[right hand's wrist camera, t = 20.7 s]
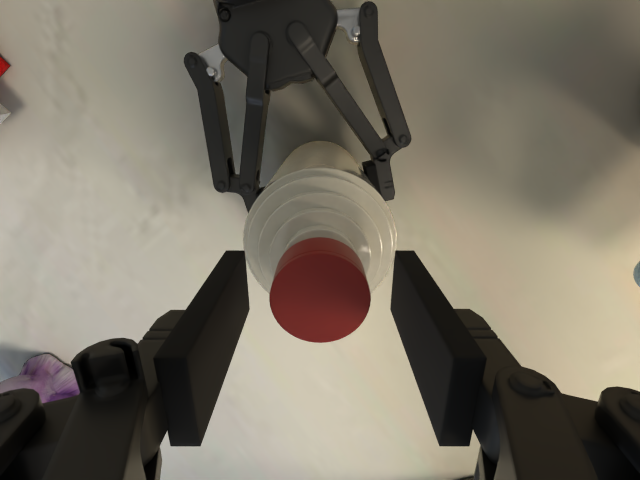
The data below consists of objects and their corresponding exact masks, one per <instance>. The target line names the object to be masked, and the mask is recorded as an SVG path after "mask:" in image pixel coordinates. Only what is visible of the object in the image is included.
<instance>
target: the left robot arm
mask: <svg viewBox="0 0 640 480" xmlns="http://www.w3.org/2000/svg"><path fill="white" fill-rule="evenodd" d="M213 2H214V5H215V9H216V12H217V16H218V19H219V24H220V32H219V39H218V43H219V44H217V45H215V46H213V47H211V48H209V49H207V50H205V51H203V52H201V53H199V54H196V53H193V52H190V53H187V54H186V55H185V57H184V64H185V67H186V68H187V70H188V72H189V74H190V76H191V78H192V80H193V82H194V84H195V86H196V88H197V90H198V96H199V102H200V108H201V114H202V119H203V125H204V131H205V137H206V143H207V149H208V155H209V160H210V166H211V172H212V178H213V184H214V188H215V189H216V190H217V191H218V192H221V193H224V192H234V193H238V194H240V195H241V196H242V197H243V199H244V202H245V205H246V208H247V211H248V213H249V211H250V209H251V207H252V205H253V203H254V202H255V201H256V199H257V198H258V196H259V195H260V194H261V192H262V191H263V190H264V188H265V187H266V186H265V187H261V188H259V184H260V181H259V178H260V170H261V161H262V153H263V144H264V136H265V127H266V119H267V110H268V105H269V100H270V92H271V91H277V90H281V89H284V88H285V87H287V86H288V85H290V84H292V83H302V84H303V83H307V82H310V81H312V80H313V79H314V78H315V79H316V80H317V82H318V83H319V84H320V86H321V87H322V89H323V90H324V91H325V92H326V94H327V95H328V97H329V98H330V99H331V101H332V102H333V104H334V105H335V106H336V108H337V109H338V111H339V112H340V114H341V115H342V116H343V118H344V119H345V121H346V122H347V123H348V125H349V126H350V128H351V129H352V130H353V132H354V133H355V135H356V136H357V137H358V139H359V140H360V142H361V143H362V144H363V146H364V147H365V149H366V150H367V151H368V153H369V154H370V157H371V160H370V161H366V162H362V165H363V170H364V173H365V175H366V176H367V177H368V179H369V180H370V181H371V183H372V184H373V186H374V187H375V188H376V190H377V191H378V192H379V194H380V195H381V196H382V198H383V199H384V201H388V200H392V199H394V195H395V190H394V184H393V179H392V173H391V167H390V158H391V156H392V155H393V154H394V153H395V152H397V151H398V150H400V149H401V148H403V147H406V146H408V145H409V144H410V142H411V135H410V132H409V129H408V126H407V123H406V120H405V117H404V114H403V111H402V109H401V106H400V103H399V100H398V97H397V94H396V91H395V88H394V85H393V82H392V79H391V76H390V74H389V71H388V68H387V65H386V62H385V59H384V56H383V53H382V50H381V47H380V44H379V41H378V11H377V7H376V5H375V4H374V3H373V2H369V1H368V2H365V3H364V4H362V6H361V8H352V9H340V10H336V8H335V6H334V5H333V4H332V2H331V1H330V0H213ZM336 29H340V30H342V31H343V32H344V33H345V34H346V38H347V40H348V42H349V43H350V44H352V45H357V49H358V54H359V58H360V61H361V63H362V66H363V69H364V72H365V74H366V77H367V80H368V83H369V85H370V88H371V91H372V94H373V96H374V99H375V102H376V105H377V107H378V110H379V113H380V116H381V118H382V121H383V124H384V127H385V129H386V132H387V136H386V137H384V138H383V139H380V137H379V136H378V134H377V133H376V131H375V130H374V128H373V127H372V125H371V124H370V123H369V121H368V120H367V118H366V117H365V115H364V114H363V112H362V111H361V110H360V108H359V107H358V105H357V104H356V102H355V101H354V99H353V98H352V96H351V95H350V94H349V92H348V91H347V89H346V88H345V86H344V85H343V83H342V82H341V81H340V79H339V77H338V76H337V74H336V72H335V71H334V69H333V68H332V66H331V65H330V63H329V62H328V60H327V59H326V56H327V53H328V50H329V48H330V45H331V42H332V39H333V37H334V34H335V31H336ZM227 60H229V61H230V62H231V63H232V64H234V65H235V66H236V67H237V68H238V69H239V70H240V71H242V72H243V73H244V74H245V75H246V76H247V77H248V78H247V89H246V114H245V124H244V135H243V145H242V155H241V165H240V175H238V174H235V168H234V161H233V154H232V148H231V141H230V134H229V127H228V120H227V114H226V107H225V100H224V94H223V90H222V87H221V84H220V82H221V81H222V80H223V79H224V77H225V73H224V63H225V62H226V61H227ZM633 275H634V280H635V282H636V283H637V285H638V286H639V287H640V262H638V264H637V265H636V266H635V268H634V274H633Z"/></svg>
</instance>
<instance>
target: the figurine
mask: <svg viewBox="0 0 640 480" xmlns="http://www.w3.org/2000/svg"><path fill="white" fill-rule="evenodd" d="M21 388H27V389H34V390H35V391H36V392H38V393H39V395H40V398H41V401H42V403H46V402H50V401H55V400H59V399H64V398H68V397H73V396H76V395H79V393H80V391H79V388H78V385H77V381H76V378H75V375H74V371H73V369H72V368H70V367H69V366H67V365H65V364H63V363H61V362H60V361H59V360H58V359H56V358H55V357H53V356H52V355H50V354H43V355H41V356H40V355H39V356H37V357H36V356H35V357H33V358H30V359H29V360H27V362H26V363H24V366H23V368H22V371H21V373H20V375H19V376H16V377H12V378H9V379H7V380H4V381H2V382H1V383H0V393H3V392H6V391H9V390H15V389H21Z"/></svg>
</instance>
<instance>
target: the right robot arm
mask: <svg viewBox="0 0 640 480" xmlns="http://www.w3.org/2000/svg"><path fill="white" fill-rule="evenodd" d="M248 312H249V296H248V284H247V271H246V259H245V251H226V252H225V253H224V255H223V256H222V257H221V259H220V260H219V262H218V263H217V265H216V266H215V268H214V269H213V271H212V272H211V274H210V275H209V277H208V278H207V279H206V281H205V282H204V284H203V285H202V287H201V288H200V290H199V291H198V293H197V294H196V296H195V297H194V299H193V300H192V301H191V303H190V304H189V306H188V307H187V309H186V310H170V311H169V312H167V313H166V314H164V315H163V316H161V317H160V318H158V319H157V320H156V321H155V323H154V324H153V325H152V326H151V328H150V329H149V331H148V332H147V333H146V334H145V335H144V337H143V340H140V342H139V343H138V344H137V343H136V342H135V341H133V340H131V339H126V338H114V339H109V340H105V341H101V342H98V343H96V344H94V345H91V346H89V347H87V348H86V349H84V350H83V351H81V352H80V353H78V354H77V355H76V356H75V358H74V359H73V360H72V361H71V365H72V368H73V371H74V375H75V378H76V381H77V385H78V388H79V391H80V393H79V395H76V396H73V397H68V398H64V399H59V400H55V401H50V402H46V403H42V401H41V398H40V395H39V393H38V392H36V391H35V390H34V389H27V388H21V389H15V390H9V391H6V392H3V393H0V480H160V474H161V465H162V457H161V450H160V444H161V442H162V440H163V438H164V436H165V434H166V432H167V431H168V435H169V440H170V445H171V446H201V443H202V440H203V438H204V435H205V432H206V429H207V426H208V424H209V421H210V418H211V415H212V413H213V410H214V407H215V404H216V401H217V399H218V396H219V393H220V390H221V387H222V385H223V382H224V379H225V376H226V373H227V371H228V368H229V365H230V362H231V360H232V357H233V354H234V351H235V348H236V346H237V343H238V340H239V337H240V334H241V332H242V329H243V326H244V323H245V321H246V318H247V315H248ZM391 312H392V315H393V318H394V321H395V323H396V326H397V329H398V332H399V334H400V337H401V340H402V343H403V346H404V348H405V351H406V354H407V357H408V360H409V362H410V365H411V368H412V371H413V373H414V376H415V379H416V382H417V385H418V387H419V390H420V393H421V396H422V399H423V401H424V404H425V407H426V410H427V413H428V415H429V418H430V421H431V424H432V426H433V429H434V432H435V435H436V438H437V440H438V443H439V446H469V445H470V440H471V435H472V430H474V432H475V434H476V436H477V438H478V440H479V442H480V444H481V446H480V450H479V455H478V460H477V464H476V469H475V474H474V477H473V478H467V479H463V480H640V392H639V391H636V390H633V389H629V388H623V387H608V388H606V389H605V390H603V391H602V392H601V395H600V398H599V401H598V402H597V401H592V400H588V399H583V398H579V397H574V396H570V395H566V394H562V393H561V392H560V391H559V389H558V388H557V387H556V385H555V384H554V383H553V382H552V381H551V380H549V379H548V378H547V377H546V376H544V375H542V374H540V373H538V372H536V371H534V370H531V369H528V368H525V367H521V365H520V364H519V363H518V362H517V360H516V359H515V358H514V357H513V355H512V354H511V353H510V351H509V350H508V349H507V348H506V346H505V345H504V344H503V343H502V341H501V340H500V339H498V336H497V335H496V334H495V333H494V331H493V330H491V328H490V326H489V325H488V324H487V323H486V321H485V320H484V319H483V318H482V317H481V316H479V315H478V314H476V313H475V312H473V311H472V310H470V309H453V307H452V306H451V304H450V303H449V301H448V300H447V299H446V297H445V296H444V294H443V293H442V291H441V290H440V288H439V287H438V285H437V284H436V282H435V281H434V279H433V278H432V277H431V275H430V274H429V272H428V271H427V269H426V268H425V266H424V265H423V263H422V262H421V260H420V259H419V257H418V256H417V255H416V253H415V252H414V251H395V259H394V271H393V284H392V296H391Z"/></svg>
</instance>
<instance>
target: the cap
mask: <svg viewBox="0 0 640 480" xmlns="http://www.w3.org/2000/svg"><path fill="white" fill-rule="evenodd" d="M370 301H371V296H370V289H369V285H368V281H367V278H366V274H365V271H364V267H363V264H362V262H361V260H360V258H359V257H358V255H357V254H356V253H355V252H354V251H353V250H352V249H351V248H350V247H349V246H347V245H346V244H344V243H342V242H340V241H338V240H335V239H331V238H326V237H315V238H309V239H305V240H302V241H300V242H298V243H296V244H294V245H293V246H291V247H290V248H289V249H288V250H287V251H286V252H285V253H284V254H283V255H282V257H281V258H280V260H279V262H278V265H277V268H276V271H275V275H274V278H273V282H272V285H271V289H270V307H271V310H272V313H273V315H274V317H275V319H276V320H277V322H278V323H279V324H280V326H281V327H282V328H283V329H284V330H285V331H287V332H288V333H290V334H291V335H293V336H295V337H297V338H299V339H302V340H305V341H309V342H318V343H322V342H331V341H335V340H339V339H341V338H343V337H345V336H347V335H349V334H351V333H352V332H353V331H355V330H356V329H357V328H358V327H359V326H360V325H361V323H362V322H363V321H364V319H365V317H366V315H367V313H368V311H369V307H370Z"/></svg>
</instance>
